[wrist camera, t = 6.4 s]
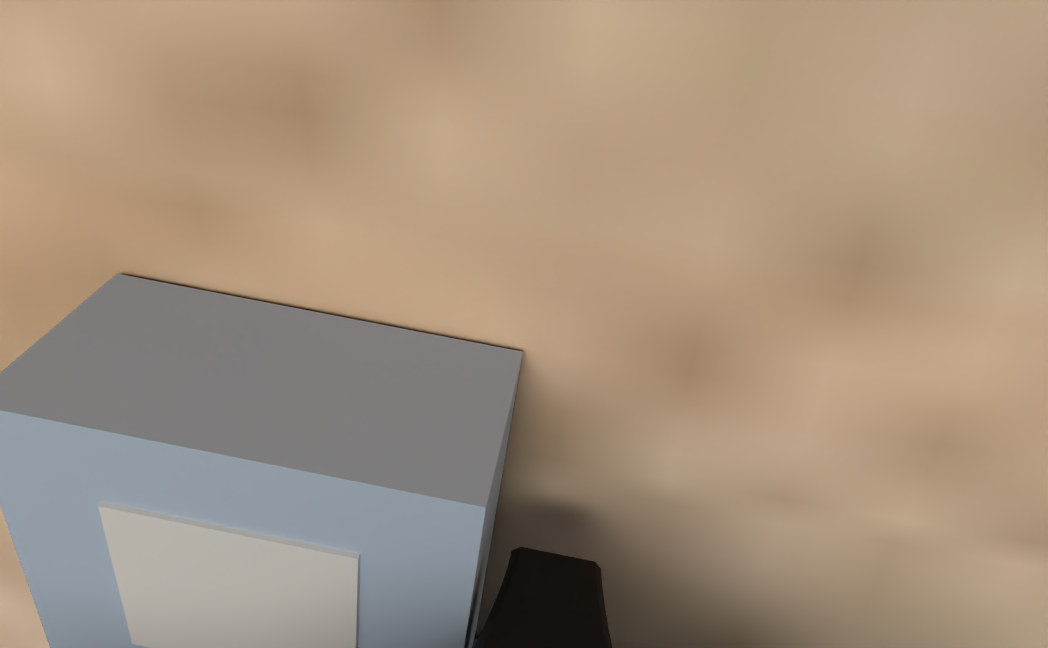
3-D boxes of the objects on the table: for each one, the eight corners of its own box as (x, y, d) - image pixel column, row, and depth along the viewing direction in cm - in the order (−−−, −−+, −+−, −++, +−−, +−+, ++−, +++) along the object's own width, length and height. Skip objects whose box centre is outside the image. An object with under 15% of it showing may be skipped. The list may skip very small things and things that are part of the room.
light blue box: (523, 351, 11) (484, 512, 8) (477, 624, 15) (440, 795, 12) (116, 272, 11) (-42, 407, 9) (169, 560, 15) (68, 715, 12)
